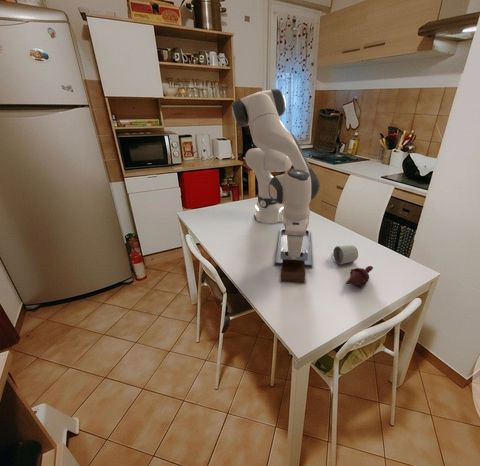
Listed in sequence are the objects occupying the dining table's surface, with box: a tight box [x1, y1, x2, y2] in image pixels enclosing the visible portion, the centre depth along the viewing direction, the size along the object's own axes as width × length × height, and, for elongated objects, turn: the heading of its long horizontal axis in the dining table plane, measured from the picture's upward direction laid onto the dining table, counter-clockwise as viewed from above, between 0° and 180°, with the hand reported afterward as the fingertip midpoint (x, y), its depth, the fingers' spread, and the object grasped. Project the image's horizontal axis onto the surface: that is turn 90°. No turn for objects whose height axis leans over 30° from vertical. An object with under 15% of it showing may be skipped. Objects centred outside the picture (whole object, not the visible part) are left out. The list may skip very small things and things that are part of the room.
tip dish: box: [280, 247, 308, 261], centre depth 101 cm, size 15×10×3 cm, turn 174°
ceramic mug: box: [332, 244, 359, 265], centre depth 113 cm, size 11×8×8 cm
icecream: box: [346, 265, 374, 287], centre depth 98 cm, size 7×7×15 cm
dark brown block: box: [280, 259, 306, 284], centre depth 103 cm, size 9×9×5 cm
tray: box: [274, 228, 313, 269], centre depth 123 cm, size 31×15×2 cm, turn 174°
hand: (294, 253), depth 95 cm, fingers closed on tip dish, 3 cm apart
